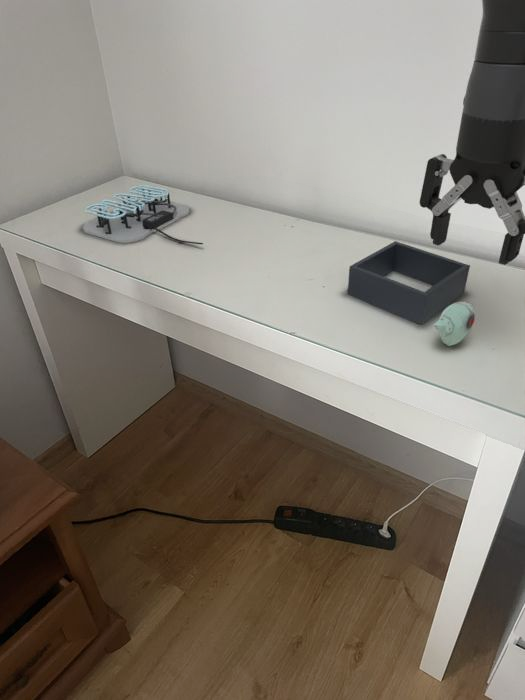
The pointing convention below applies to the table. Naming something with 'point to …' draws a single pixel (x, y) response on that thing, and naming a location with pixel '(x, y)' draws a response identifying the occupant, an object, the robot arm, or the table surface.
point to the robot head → (455, 322)
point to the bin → (403, 298)
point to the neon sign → (135, 216)
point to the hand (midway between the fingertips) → (470, 252)
